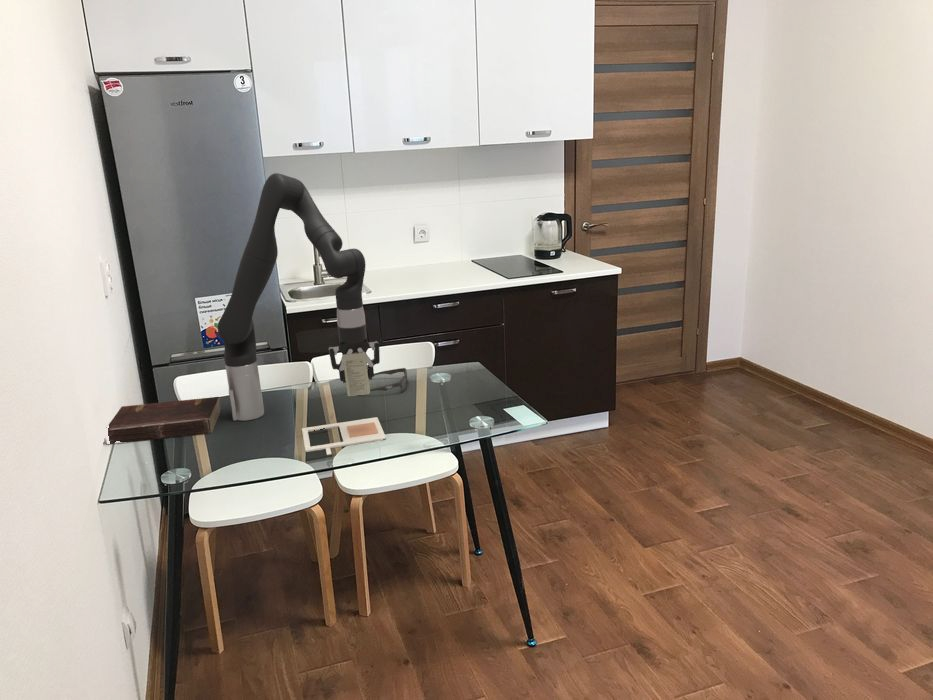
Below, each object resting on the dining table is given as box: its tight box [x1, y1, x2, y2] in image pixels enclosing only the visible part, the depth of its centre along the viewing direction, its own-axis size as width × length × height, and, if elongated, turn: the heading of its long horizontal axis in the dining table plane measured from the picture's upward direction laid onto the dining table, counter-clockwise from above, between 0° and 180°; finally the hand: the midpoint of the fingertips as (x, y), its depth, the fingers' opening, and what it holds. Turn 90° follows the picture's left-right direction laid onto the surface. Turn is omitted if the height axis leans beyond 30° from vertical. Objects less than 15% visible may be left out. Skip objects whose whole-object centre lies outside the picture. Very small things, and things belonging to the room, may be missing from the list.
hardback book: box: [108, 396, 222, 445], centre depth 223 cm, size 29×19×5 cm, turn 99°
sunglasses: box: [354, 367, 408, 397], centre depth 246 cm, size 16×17×5 cm
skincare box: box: [341, 352, 371, 397], centre depth 207 cm, size 6×4×12 cm
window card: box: [301, 416, 386, 456], centre depth 209 cm, size 22×20×1 cm
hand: (357, 380), depth 207 cm, fingers closed on skincare box, 6 cm apart
